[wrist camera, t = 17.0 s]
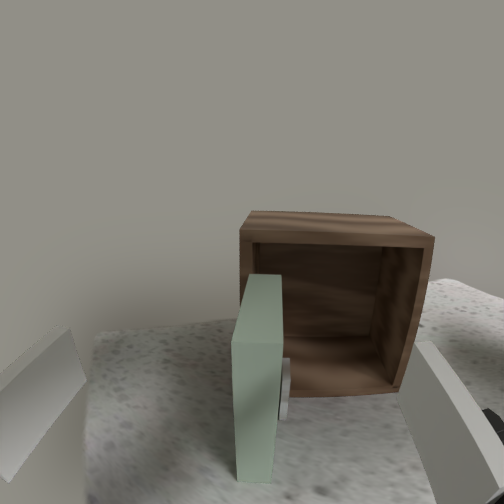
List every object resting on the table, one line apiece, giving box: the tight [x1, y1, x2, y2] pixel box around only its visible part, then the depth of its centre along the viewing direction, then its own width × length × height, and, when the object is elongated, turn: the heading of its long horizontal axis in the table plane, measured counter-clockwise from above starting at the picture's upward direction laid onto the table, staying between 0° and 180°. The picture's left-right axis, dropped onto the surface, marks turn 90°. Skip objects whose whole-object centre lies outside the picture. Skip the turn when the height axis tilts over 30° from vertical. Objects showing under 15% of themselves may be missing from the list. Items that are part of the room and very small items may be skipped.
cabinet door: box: [231, 274, 283, 484], centre depth 25 cm, size 12×3×16 cm, turn 175°
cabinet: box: [232, 211, 435, 420], centre depth 35 cm, size 18×20×20 cm
